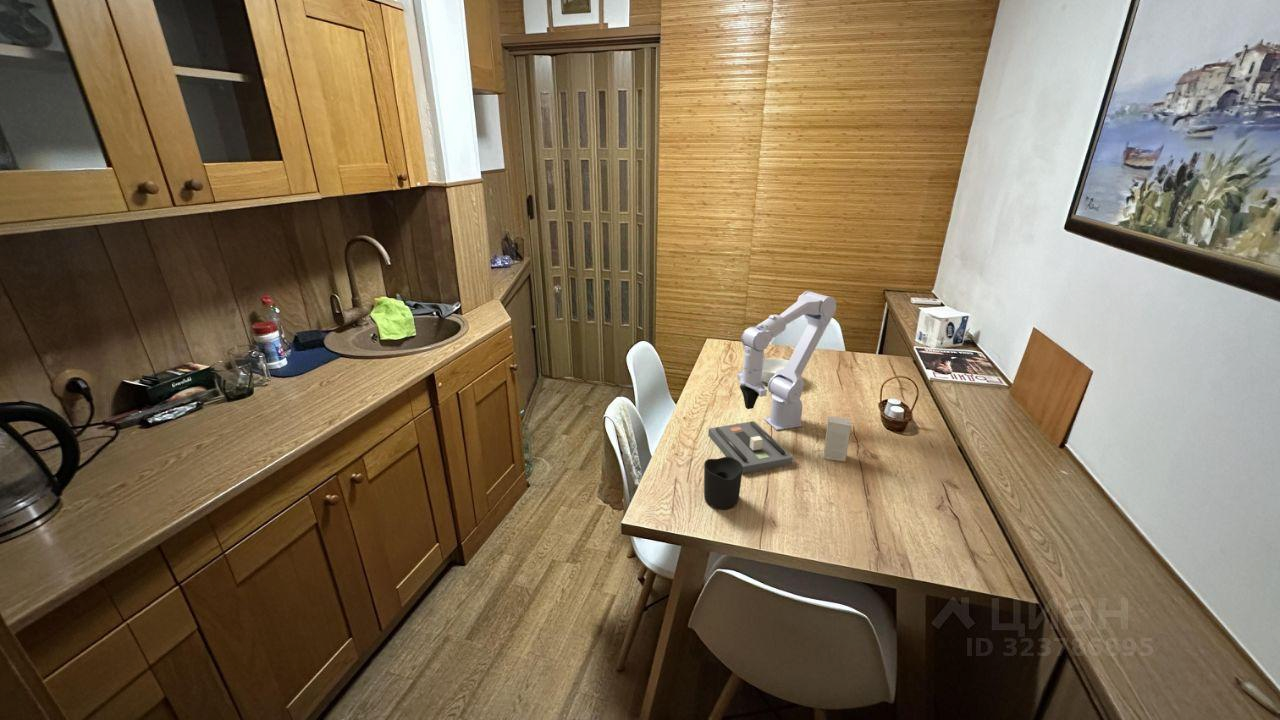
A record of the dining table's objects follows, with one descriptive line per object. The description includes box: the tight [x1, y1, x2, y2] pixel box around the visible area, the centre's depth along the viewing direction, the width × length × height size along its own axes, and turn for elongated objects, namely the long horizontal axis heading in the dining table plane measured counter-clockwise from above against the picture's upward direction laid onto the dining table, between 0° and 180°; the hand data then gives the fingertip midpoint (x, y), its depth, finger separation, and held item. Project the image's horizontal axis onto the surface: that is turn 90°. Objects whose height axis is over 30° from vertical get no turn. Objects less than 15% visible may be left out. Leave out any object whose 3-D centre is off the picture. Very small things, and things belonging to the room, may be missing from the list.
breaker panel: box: [708, 420, 794, 475], centre depth 147 cm, size 16×22×4 cm
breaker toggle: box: [750, 436, 763, 450], centre depth 142 cm, size 3×2×3 cm
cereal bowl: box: [762, 357, 793, 385], centre depth 192 cm, size 17×17×7 cm
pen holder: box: [703, 456, 743, 510], centre depth 124 cm, size 9×9×10 cm
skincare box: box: [823, 415, 852, 462], centre depth 141 cm, size 6×4×12 cm
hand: (749, 407), depth 152 cm, fingers closed
